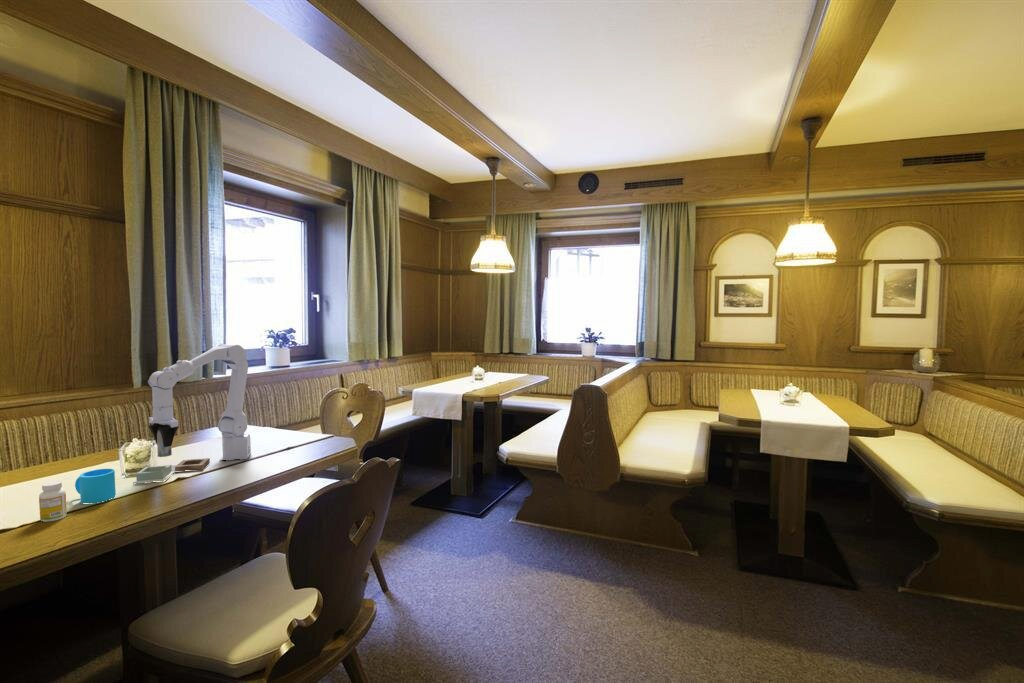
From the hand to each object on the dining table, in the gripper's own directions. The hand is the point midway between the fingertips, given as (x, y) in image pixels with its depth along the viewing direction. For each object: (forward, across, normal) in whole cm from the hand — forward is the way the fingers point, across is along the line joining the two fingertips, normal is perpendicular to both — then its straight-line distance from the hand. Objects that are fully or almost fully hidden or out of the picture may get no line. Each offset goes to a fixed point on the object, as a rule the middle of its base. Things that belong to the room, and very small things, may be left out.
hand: (164, 445), depth 172 cm
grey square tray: (+10, 0, -3) cm, 11 cm away
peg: (+3, 0, 0) cm, 3 cm away
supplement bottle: (+11, +12, -34) cm, 38 cm away
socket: (+10, -1, +10) cm, 14 cm away
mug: (+11, +4, -22) cm, 25 cm away
